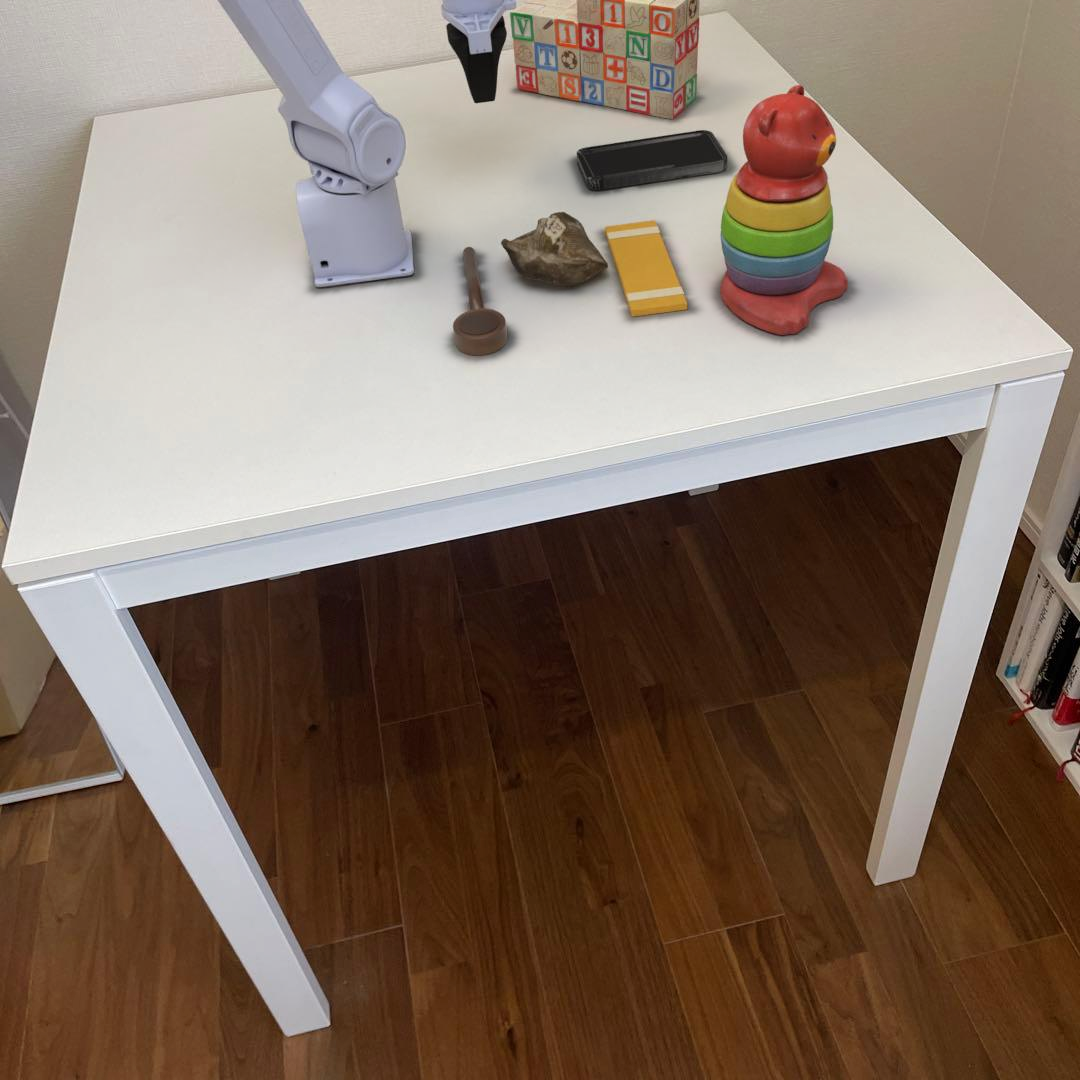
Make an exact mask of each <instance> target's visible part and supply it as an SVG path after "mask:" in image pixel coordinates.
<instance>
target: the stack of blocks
mask: <svg viewBox="0 0 1080 1080" xmlns="http://www.w3.org/2000/svg"><path fill="white" fill-rule="evenodd" d="M700 3H701V2H700V0H525V1H524V2H522V3H521V4H519V5H518V6H516V8H515V9H512V10H510V12H509V16H510V17H509V19H510V29H511V38H512V41H513V43H512V44H513V54H514V55H513V58H514V64H515V76H516V78H515V79H516V86H517V90H521V91H525V92H526V91H527V92H531V93H532V92H533V93H538V94H540V95H545V96H549V97H556V98H561V99H566V100H571V101H577V102H583V103H588V104H594V105H597V106H605V107H609V108H614V109H619V110H624V111H628V112H633V113H638V114H643V115H650V116H653V117H658V118H662V119H667V120H674V119H675V118H676V117H678V116H679V115H680V114H681V113H682V112H683V111H685V109H686V108H687V107H688V106H690V104H691V103H693V102H694V101H695V100H696V99H697V92H698V91H697V90H698V73H697V72H698V57H699V43H700V41H699V39H700Z"/></svg>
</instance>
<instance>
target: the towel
mask: <svg viewBox="0 0 1080 1080" xmlns="http://www.w3.org/2000/svg"><path fill="white" fill-rule="evenodd" d="M604 234H605V237H606V240H607V244H608V247H609V250H610V252H611V253H610V254H611V256H612V259H613V262H614V266H615V268H616V272H617V274H618V278H619V281H620V284H621V287H622V290H623V293H624V297H625V300H626V302H627V306H628V309H629V312H630V315H631V318H632V317H640V316H648V315H654V314H655V315H657V314H663V313H671V312H678V311H685V310H688V302H687V299H686V295H685V292H684V290H683V289H684V288H683V287H682V286H681V283H680V281H679V278H678V276H677V272H676V270H675V268H674V265H673V262H672V260H671V257H670V255H669V253H668V250H667V248H666V245H665V242H664V240H663V238H662V237H663V236H662V235H661V231H660V228H659V226H658V224H657V222H656V220H655V219H653V220H647V221H646V220H645V221H638V222H630V223H623V224H622V223H621V224H615V225H607V226H604Z"/></svg>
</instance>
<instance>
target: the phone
mask: <svg viewBox="0 0 1080 1080" xmlns="http://www.w3.org/2000/svg"><path fill="white" fill-rule="evenodd" d="M576 164H577V166H578V169H579V172H580V174H581V176H582V178H583V181H584V184H585V186H586V188H587V189H589V190H592V191H603V190H609V189H611V190H612V189H617V188H623V187H630V186H636V185H643V184H648V183H649V184H650V183H656V182H662V181H669V180H675V179H682V178H689V177H696V176H702V175H709V174H714V173H721V172H723V171H726V170H727V168H728V154H727V153H726V151H725V150H724V148H723V147H722V145H721V144H720V142H719V141H718V139H717V137H716V135H714V133H713V132H712V131H710V130H706V129H699V130H694V131H693V130H692V131H685V132H680V133H679V132H678V133H673V134H666V135H659V136H653V137H646V138H640V139H633V140H626V141H625V140H624V141H619V142H612V143H606V144H599V145H593V146H585V147H581V148H579V149H577V151H576Z"/></svg>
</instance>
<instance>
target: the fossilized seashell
mask: <svg viewBox="0 0 1080 1080" xmlns="http://www.w3.org/2000/svg"><path fill="white" fill-rule="evenodd" d="M500 245H501V246H502V248H503V249H504V251H505V252H506V253H507V256H508V258H509V260H510V262H511V264H512V266H513V268H514V269H515V271H516V272H517V273H518V274H519V275H520V276H521V277H523V278H526V279H529V280H533V281H543V282H545V283H546V284H549V285H553V286H559V287H562V286H563V287H564V286H565V287H566V286H571V285H572V286H573V285H577V284H580V283H583V282H586V281H589V280H590V279H591V278H593V277H594V276H596V275H597V274H600V272H602V271H605V270H607V269H608V268H609V263H608V262H607V260H606V259H605V258H604V257H603V254H601V252H600V250H599V249H598V248H597V247H596V246H595V244H594V243H593V242H592V240H591V239H590V238H589V236H588V234H587V232H586V230H585V227H584V225H583V224H582V222H581V221H580V220H578V219H577V218H575V217H574V216H572V215H570V214H569V213H567V212H565V211H558V212H554V213H551V214H550V215H549V216H548V217H541V218H539V219H538V220H537V224H536V227H535V229H533V230H531V231H529V232H526V233H523V234H522V235H519V236H518V237H515V238H514V239H512V240H509V239H507V238H503V239H501V242H500Z"/></svg>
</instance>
